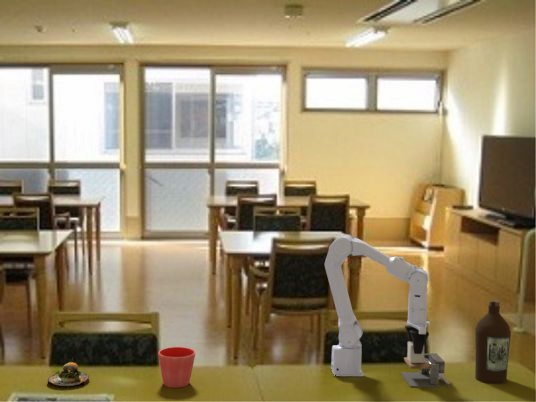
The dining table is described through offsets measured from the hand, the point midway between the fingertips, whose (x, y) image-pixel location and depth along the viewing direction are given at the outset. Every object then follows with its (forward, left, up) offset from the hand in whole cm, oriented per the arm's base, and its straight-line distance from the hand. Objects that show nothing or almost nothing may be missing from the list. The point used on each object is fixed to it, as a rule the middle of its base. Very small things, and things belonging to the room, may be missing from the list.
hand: (415, 351), depth 216 cm
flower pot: (-73, -6, -9) cm, 74 cm away
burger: (-105, -6, -10) cm, 106 cm away
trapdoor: (+3, 0, -5) cm, 6 cm away
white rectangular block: (0, 0, 0) cm, 0 cm away
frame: (+6, 0, -9) cm, 11 cm away
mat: (+2, 0, -9) cm, 9 cm away
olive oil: (+25, +1, -9) cm, 26 cm away
